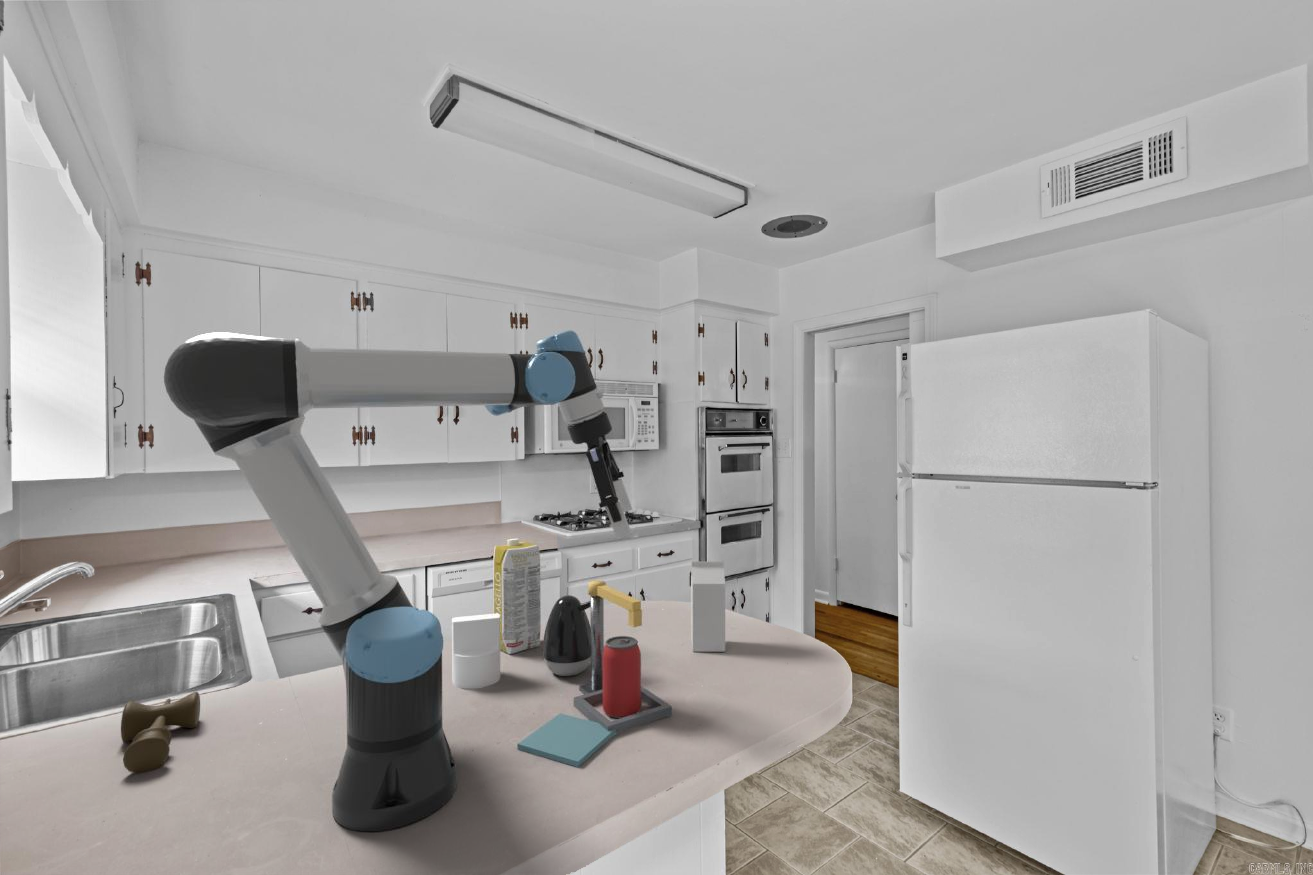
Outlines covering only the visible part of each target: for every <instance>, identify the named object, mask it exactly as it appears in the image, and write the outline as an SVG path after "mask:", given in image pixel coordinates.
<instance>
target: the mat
mask: <svg viewBox="0 0 1313 875" xmlns="http://www.w3.org/2000/svg"><path fill="white" fill-rule="evenodd" d="M615 735H617V733H616V728H615V729H612V730H609V731H607V730H606V729H605V728H604V727H603V726H601V725H600V724H599V723H597V722H593V721H590V720H589V719H586V718H585V719H584V718H581V717H577V716H573V715H569V714H564V713H558V714H557V715H555V717H552V718H551V719H550V720H549V721H547V722H546V723H544V724H543V725H542V726H540V727H538V729H536V730H535V731H533V732H531V734H529V735H528V736H526V737H525V738H523V739H522V740H521V741H519V742H517V747H516V748H517V750H519V751H522V752H526V753H528V754H529V753H530V754H533V755H536V756H539V757H542V758H546V759H549V760H553V761H556V762H558V763H559V762H560V763H562V764H563V763H564V764H566V765H570V766H572V767H576V768H579V767H580V766H582V764H583V763H585V762H586V760H588V759H589V758H590V757H591V756H593V754H595V753H596V752H597V751H598V750H599V749H601V747H602V746H604V744H606V743H607V742H608V741H609V740H610V739H611V738H612V737H614V736H615Z"/></svg>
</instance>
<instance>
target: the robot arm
mask: <svg viewBox="0 0 1313 875" xmlns="http://www.w3.org/2000/svg"><path fill="white" fill-rule="evenodd" d="M582 344H583V343H582V342H581V340H580V337H579V336H578V334H577V332H575V331H573V330H572V329H569V330H565V331H563V332H560V333H557V334H554V335H552V336H548V337H546V338H543V339H540V340H537V342H536V345H535V346H536V353H534V354H533V353H532V354H531V353H529V354H528V353H507V352H506V353H505V352H503V353H501V352H499V353H498V352H475V351H474V352H472V351H468V352H467V351H465V352H464V351H440V350H439V351H435V350H432V351H431V350H401V349H399V350H398V349H370V348H369V349H367V348H364V349H363V348H333V347H332V348H331V347H328V348H327V347H310V346H307V345H306V344H305V343H303V342H302V341H301V340H300V339H299V338H286V337H285V338H284V337H282V338H281V337H270V336H259V335H251V334H249V335H248V334H242V333H233V332H223V331H222V332H210V333H205V334H200V335H197V336H194V337H191V338H189V339H187V340H186V341H185V342H183V343H182V344H180V345H179V346H178V347H176V349H174V350H173V352H172V353H171V355H170V356H169V357H168V360H167V362H166V364H165V368H164V373H163V374H164V375H163V383H164V387H165V391H166V393H167V395H168V397H169V400H170V401H171V402H172V403H173V405H174V406H175V407H176V408H177V409H178V411H180V412H181V413H183V415H185V416H186V417H189V418H190V419H192V420H193V422H194V423H195V424H196V426H197V427H198V429H199V431H200V433H201V434H202V436H203V437H204V439H205V440H206V442H207V443H208V445H209V447H210V448H211V450H212V451H213V453H214V454H215V455H216V456H220V457H223V458H226V459H229V460H232V461H234V462H235V464H236V466H237V467H238V468H239V471H240V472H241V473H242V475H243V476H244V478H245V480H246V482H247V483H248V485H249V486H250V488H251V489H252V492H253V493H254V494H255V497H256V498H257V500H258V501H259V503H260V504H261V506H262V508H263V510H264V511H265V513H266V514H267V515H268V518H269V520H270V521H271V523H272V524H273V526H274V527H275V529H276V531H277V532H278V534H279V536H280V537H281V539H282V540H283V542H284V544H285V546H286V547H287V549H288V550H289V552H290V554H291V555H292V557H293V558H294V561H295V563H297V565H298V567H299V569H300V570H301V572H302V573H303V575H304V576H305V578H306V580H307V581H308V584H310V587H311V589H312V590H313V591H314V594H315V595H316V596H317V598H318V600H319V601H320V603H321V605H322V610H321V612H320V616H319V619H318V623H319V625H320V627H321V628H322V629H323V631H324V633H325V635H326V637H327V638H328V640H329V642H331V645H332V646H333V648H334V649H335V651H336V653H337V655H338V656H339V658H340V660H341V661H342V667H343V674H344V679H345V689H346V690H345V692H346V741H347V742H346V749H345V752H344V755H343V758H342V762H341V766H340V768H339V769H340V770H339V773H338V777H337V779H336V781H335V783H334V786H333V788H332V793H331V810H332V813H331V814H332V816H333V819H334V820H335V821H336V822H337V823H338V824H339V825H341V826H342V827H344V828H347V829H350V830H353V831H354V830H355V831H359V832H360V831H361V832H379V831H386V830H387V831H388V830H393V829H397V828H401V827H404V826H407V825H410V824H413V823H415V822H418V821H420V820H422V819H425V818H426V817H428V816H430V815H431V814H433V813H435V812H436V811H438V810H439V809H440V808H442V807H443V806H444V805H445V804H446V803H447V802H448V801H449V800H450V798H452V796H453V795H454V793H455V790H456V788H457V765H456V760H455V758H454V757H453V754H452V751H451V748H450V743H449V741H448V740H447V737H446V734H445V731H444V728H443V650H444V637H443V636H444V635H443V633H442V626H441V623H440V620H439V618H438V617H437V616H436V615H435V614H434V613H433V612H430V611H429V610H426V609H419V608H418V607H414V606H413V605H412V603H411V601H410V600H409V598H408V596H407V594H406V593H405V591H404V588H403V587H402V585H401V584H400V582H399V580H398V579H397V577H396V576H393V575H390V574H384V573H382V572H381V571H380V570H379V568H378V566H377V564H376V562H375V561H374V559H373V557H372V555H371V553H370V552H369V550H368V548H367V546H366V545H365V543H364V541H363V540H362V538H361V537H360V534H359V533H358V531H357V529H356V528H355V526H354V523H353V522H352V520H351V519H350V517H349V516H348V514H347V511H346V510H345V508H344V507H343V505H342V503H341V502H340V500H339V498H338V497H337V495H336V493H335V491H334V490H333V487H332V486H331V484H330V483H329V481H328V479H327V477H326V475H325V473H324V472H323V470H322V468H321V466H320V465H319V463H318V462H317V460H316V458H315V456H314V454H313V453H312V451H311V449H310V447H309V446H308V444H307V443H306V442H307V441H305V439H304V437H303V435H302V432H301V431H302V427H303V424H304V421H305V420H306V417H305V414H306V413H308V412H309V411H310V410H312V409H344V408H345V409H346V408H347V409H350V408H351V409H352V408H353V409H355V408H357V409H359V408H406V407H407V408H408V407H410V408H411V407H412V408H413V407H419V408H420V407H459V406H460V407H461V406H465V407H467V406H469V407H471V406H484V407H485V408H486V410H487V411H488V413H490V414H491V415H493V416H496V417H497V416H501V415H505V414H507V413H512V412H513V411H515V410H517V409H521V408H525V407H534V406H544V405H545V406H549V405H551V406H552V405H556V404H557V405H558V408H559V410H560V413H561V416H562V419H563V421H564V423H567V431H568V433H569V436H570V438H571V441H572V443H573V444H574V445H582V444H586V446H587V451H585V456H586V458H587V459H588V463H589V466H590V469H591V473H592V476H593V480H594V482H595V486H596V490H597V493H598V496H599V500H600V502H599V503H598V505H599V506H598V507H600V508H601V509H602V508H604V509H605V511H606V513H607V516H608V518H609V522H610V525H611V527H612V529H613V532H614V536H615V538H616V540H620V539H623V538H627V537H629V536H631V535H633V534H632V531H631V527H630V525H629V522H628V519H627V516H626V515H625V513H626V512H630V511H632V510H633V507H632V503H631V501H630V499H629V495H628V492H627V490H626V488H625V485H624V483H623V480H622V478H623V477H625V475H624V471H620V468H619V466H618V465H617V464H618V463H617V461H616V460H615V457H614V456H613V453H612V451H611V447H610V445H609V442H608V441H607V439H606V435H608V434H610V433H611V432H612V430H613V427H612V425H611V422H610V421H611V420H610V419H609V416H608V413H607V412H606V411H603V409H604V408H605V406H604V404H603V400H602V398H604V393H603V392H601V391H599V390H598V387H597V383H596V382H595V378H594V375H593V373H592V369H591V367H590V364H589V361H588V358H587V356H586V351H585V350H584V347H583V345H582Z"/></svg>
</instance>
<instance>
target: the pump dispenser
mask: <svg viewBox="0 0 1313 875" xmlns="http://www.w3.org/2000/svg"><path fill="white" fill-rule="evenodd" d="M589 608H590V609H591V603H590V600H589V601H586V602H583V603H581V601H580V600H579V599H578V597H576V596H573V595H571V594H570V595H569V594H568V595H563V596H562V597H560V598H559V599H557V600H556V601H555V603H554V605H553V606H552V608H551V611H550V614H549V616H548V619H547V622H546V625H545V629H544V634H543V635H544V636H543V640H542V658H543V659H544V663H545V665H546V667H547V669H548V670H550V672H552V673H553V674H555V675H558V676H561V677H572V676H576V675H579V674H581V673H582V672H584V671H585V670H586V669H587V668H588V666H589V665H590V664H591V622H590V619H589V617H588V614H587V612H586V610H587V609H589Z"/></svg>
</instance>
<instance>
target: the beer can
mask: <svg viewBox="0 0 1313 875" xmlns="http://www.w3.org/2000/svg"><path fill="white" fill-rule="evenodd" d="M638 643H639V641H638V640H637V638H635V637H632V636H626V635H617V636H612V637H610V638H608V639H606V640H605V642H604V644H605V646H604V651H603V701H602V710H603V712H604V713H605V714H606V715H607V716H609V717H612V718H616V719H620V718H623V717H627V716H630V715H633V714H636V713H640V712H641V711H640V710H641V707H642V700H641V686H642V653H641V649H640V647H639V644H638Z"/></svg>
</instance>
